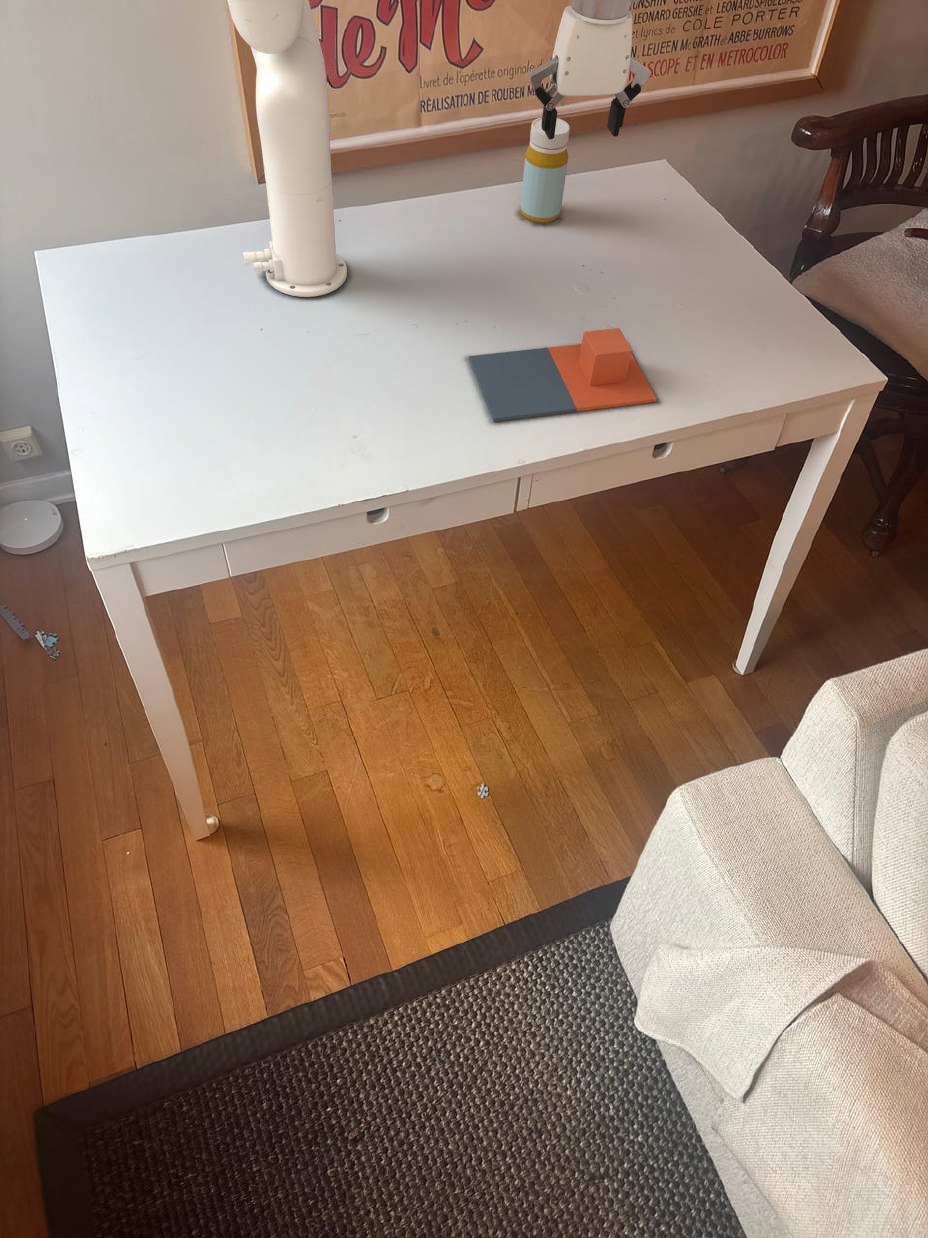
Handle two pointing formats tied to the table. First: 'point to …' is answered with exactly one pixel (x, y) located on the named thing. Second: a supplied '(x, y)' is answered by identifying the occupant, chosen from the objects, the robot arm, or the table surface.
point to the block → (604, 356)
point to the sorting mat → (550, 384)
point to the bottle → (544, 173)
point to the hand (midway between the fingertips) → (580, 133)
